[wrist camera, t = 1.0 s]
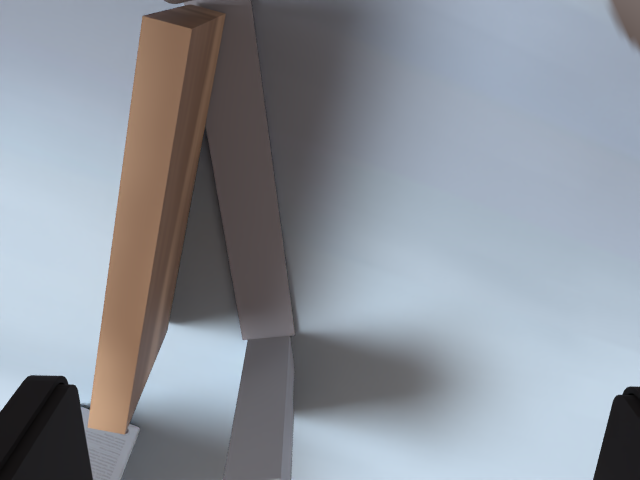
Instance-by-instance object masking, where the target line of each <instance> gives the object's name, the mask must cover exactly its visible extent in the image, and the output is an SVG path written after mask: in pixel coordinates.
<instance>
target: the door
mask: <svg viewBox="0 0 640 480" xmlns="http://www.w3.org/2000/svg"><path fill="white" fill-rule="evenodd" d="M164 1H166V2H168V3H172V4H178V3H183V2H188V1H192V0H164ZM225 15H226V14H225V13H221V12H217V11H214V10H210V9H206V8H203V7H199V6H195V5H191V4H190V5H186V6H182V7H177V8H173V9H169V10H165V11H161V12H157V13H153V14H148V15H144V16H143V17H142V24H141V32H140V39H139V47H138V54H137V62H136V69H135V77H134V84H133V92H132V99H131V106H130V114H129V121H128V129H127V136H126V144H125V151H124V159H123V166H122V174H121V181H120V189H119V196H118V204H117V211H116V218H115V226H114V233H113V241H112V248H111V256H110V263H109V271H108V278H107V286H106V293H105V301H104V308H103V316H102V323H101V331H100V338H99V345H98V353H97V360H96V368H95V375H94V383H93V390H92V398H91V405H90V413H89V420H88V428H92V429H98V430H103V431H108V432H113V433H119V434H124V435H125V433H126V431H127V428H128V426H129V423H130V421H131V418H132V416H133V413H134V411H135V408H136V406H137V404H138V401H139V399H140V396H141V394H142V391H143V389H144V386H145V384H146V382H147V379H148V377H149V374H150V372H151V369H152V367H153V364H154V362H155V360H156V357H157V355H158V352H159V350H160V347H161V345H162V342H163V340H164V338H165V335H166V333H167V330H168V324H169V319H170V313H171V308H172V302H173V297H174V292H175V286H176V281H177V275H178V270H179V265H180V259H181V254H182V248H183V243H184V237H185V232H186V227H187V221H188V216H189V210H190V205H191V200H192V194H193V189H194V183H195V178H196V172H197V167H198V162H199V156H200V151H201V145H202V140H203V135H204V129H205V124H206V118H207V113H208V108H209V102H210V97H211V91H212V86H213V80H214V75H215V70H216V64H217V59H218V53H219V48H220V43H221V37H222V32H223V26H224V21H225Z"/></svg>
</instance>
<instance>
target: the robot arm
mask: <svg viewBox="0 0 640 480" xmlns="http://www.w3.org/2000/svg"><path fill="white" fill-rule="evenodd" d="M0 480H93V476H92V470H91V464H90V458H89V452H88V447H87V441H86V435H85V429H84V423H83V417H82V411H81V406H80V400H79V394H78V390H77V387H76V386H75V385H68V381H67V379H66V378H65V377H63V376H37V375H31V376H28V377H27V378H26V379H25V380H24V381H23V382H22V384H21V385H20V386H19V388H18V389H17V390H16V392H15V393H14V394H13V396H12V397H11V398H10V400H9V401H8V402H7V404H6V405H5V406H4V408H3V409H2V410H1V412H0ZM593 480H640V387H628V388H626V389H625V390H624V392H623V395H617V396H616V397H615V398H614V400H613V404H612V407H611V411H610V415H609V419H608V423H607V427H606V431H605V435H604V439H603V443H602V447H601V451H600V455H599V459H598V463H597V467H596V471H595V474H594V478H593Z"/></svg>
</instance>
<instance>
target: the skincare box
mask: <svg viewBox="0 0 640 480" xmlns="http://www.w3.org/2000/svg"><path fill="white" fill-rule="evenodd" d="M81 411H82V417H83V423H84V429H85V435H86V441H87V447H88V452H89V458H90V464H91V470H92V476H93V480H121V478H122V475H123V473H124V470H125V467H126V465H127V462H128V460H129V457H130V455H131V452H132V450H133V447H134V444H135V442H136V439H137V437H138V434H139V431H140V428H139V427H137V426H134V425H131V424H129V426H128V428H127V431H126V433H125V435H124V434H119V433H113V432H108V431H103V430H98V429H92V428H88V420H89V413H90V410H89V409H86V408H84V407H81Z"/></svg>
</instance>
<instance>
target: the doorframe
mask: <svg viewBox="0 0 640 480" xmlns="http://www.w3.org/2000/svg"><path fill="white" fill-rule="evenodd" d="M190 4H191V5H195V6H199V7H203V8H206V9H210V10H214V11H217V12H221V13H225V14H226V15H225V21H224V26H223V32H222V37H221V43H220V48H219V53H218V59H217V64H216V70H215V75H214V80H213V86H212V91H211V97H210V102H209V108H208V113H207V118H206V124H205V126H206V132H207V137H208V143H209V149H210V155H211V160H212V166H213V172H214V178H215V183H216V189H217V195H218V201H219V207H220V212H221V218H222V224H223V230H224V235H225V241H226V247H227V253H228V258H229V264H230V270H231V276H232V281H233V287H234V293H235V299H236V305H237V310H238V316H239V322H240V328H241V333H242V339H243V340H248V342H247V347H246V353H245V359H244V364H243V370H242V376H241V381H240V387H239V392H238V398H237V404H236V409H235V415H234V421H233V426H232V432H231V438H230V443H229V449H228V454H227V460H226V466H225V471H224V477H223V480H291V470H292V447H293V424H294V408H293V392H294V370H295V367H294V360H293V352H292V345H291V338H290V336H295V328H294V321H293V313H292V306H291V298H290V290H289V283H288V275H287V268H286V260H285V253H284V245H283V237H282V230H281V222H280V215H279V207H278V200H277V192H276V184H275V177H274V169H273V162H272V154H271V147H270V139H269V131H268V124H267V116H266V109H265V101H264V94H263V86H262V79H261V71H260V63H259V56H258V48H257V41H256V33H255V26H254V18H253V10H252V3H251V0H192V1H188V2H184V5H185V6H186V5H190Z"/></svg>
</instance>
